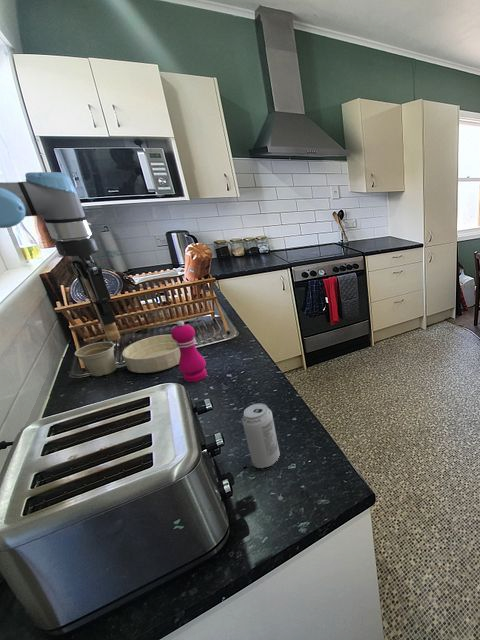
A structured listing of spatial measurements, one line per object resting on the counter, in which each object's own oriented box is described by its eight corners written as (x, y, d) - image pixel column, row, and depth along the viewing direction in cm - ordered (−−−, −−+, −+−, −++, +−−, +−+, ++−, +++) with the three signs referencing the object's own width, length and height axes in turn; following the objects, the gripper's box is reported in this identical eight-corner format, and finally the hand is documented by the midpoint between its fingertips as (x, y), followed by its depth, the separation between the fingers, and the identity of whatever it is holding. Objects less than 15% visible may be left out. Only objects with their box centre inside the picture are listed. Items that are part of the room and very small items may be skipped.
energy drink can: (261, 450, 85) (250, 400, 79) (285, 452, 84) (275, 402, 78) (247, 469, 79) (234, 418, 73) (272, 472, 79) (261, 420, 73)
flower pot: (113, 377, 110) (104, 354, 107) (78, 381, 108) (67, 357, 105) (128, 362, 119) (120, 340, 115) (95, 365, 116) (85, 343, 113)
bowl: (144, 380, 109) (138, 364, 107) (118, 365, 117) (112, 349, 115) (200, 357, 123) (195, 342, 121) (173, 344, 131) (169, 330, 129)
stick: (110, 342, 98) (82, 274, 90) (106, 339, 99) (78, 272, 91) (122, 338, 100) (96, 271, 92) (118, 335, 102) (92, 270, 93)
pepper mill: (213, 371, 115) (199, 317, 107) (198, 384, 109) (182, 326, 100) (193, 370, 116) (177, 315, 108) (177, 382, 109) (158, 325, 101)
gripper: (105, 239, 87) (136, 323, 97) (80, 232, 94) (111, 311, 104) (66, 244, 81) (103, 333, 91) (42, 236, 88) (79, 319, 98)
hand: (107, 321), depth 98 cm, fingers closed on stick, 3 cm apart
